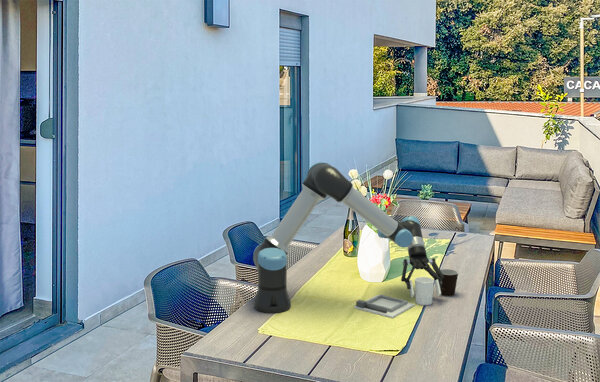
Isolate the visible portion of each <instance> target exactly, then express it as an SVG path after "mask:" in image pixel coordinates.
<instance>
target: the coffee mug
mask: <svg viewBox="0 0 600 382" xmlns="http://www.w3.org/2000/svg"><path fill="white" fill-rule="evenodd" d="M440 271H441V272H442V274H443V276H444V278H443V280H442V281H441V285H442V286H441V288H440V290H441V295H440V296H443V297H453V296H455V293H456V287H457V282H458V276H459V271H457V270H455V269H452V268H451V269H449V268H442V269H440Z"/></svg>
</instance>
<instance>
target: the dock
mask: <svg viewBox="0 0 600 382" xmlns="http://www.w3.org/2000/svg"><path fill="white" fill-rule="evenodd" d="M413 306H414V307H415V306H416V304H415V303H411V302H408V300H405V299H401V298H398V297H397V298H396V297H393V296H388V295H385V294H377V295H375V296H372V297H371V298H368V299H366V300H362V299H358V300H356V302H355V305H354V306H353V307H354V309H356V310H360V311H362V312H363V311H364V312H366V313H367V312H368V313H371V314H375V315H379V316H383V317H386V318H389V317H390V318H389V319H394V318H396V317H398V316H399V315H401V314H403V313H405V312H406V310H407V311H408V310H410V309H412V308H413ZM411 307H412V308H411ZM409 308H410V309H409ZM404 311H405V312H404ZM402 312H403V313H402ZM397 315H398V316H397Z"/></svg>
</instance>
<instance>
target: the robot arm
mask: <svg viewBox="0 0 600 382" xmlns="http://www.w3.org/2000/svg"><path fill="white" fill-rule="evenodd" d="M301 186H302V190H301V191H300V193H299V194H298V195H297V197H296V199H295V200H294V201H293V203H292V205H291V206H290V207H289V209H288V211H287V212H286V213H285V215H284V216H283V218H282V220H281V221H280V223H279V224H278V225H277V227H276V228H275V230H274V231H273V233H272V234H271V235H269V236H266V237H265V238H264V239H263V241H262V243H259V244H258V245H257V246H256V247H255V249H254V251H253V255H252V260H253V264H254V266H255V268H256V270H257V273H258V274H257V277H258V278H257V280H258V281H257V287H258V288H257V291H256V294H255V298H254V301H253V307H254V309H255V310H256V311H258V312H261V313H268V314H276V313H278V314H279V313H282V312H286V311H288V310H290V309H291V308H292V302H291V300H292V299H290V296H289V292H288V288H287V273H288V272H287V269H288V266H287V263H288V258H287V257H288V256H287V255H288V254H289V253H290V251H289V246H290V244H291V243H292V242H293V240H294V239H295V238H296V236H297V234H298V233H299V231H300V230H301V228H302V227H303V225H304V224H305V222H307V220H308V218H309V216H311V214H312V212H313V211H314V209H315V207H316V206H317V205H318V204H319V202H320V201H322V200H325V199H326V198H327V196H328V197H330V198H332V199H333V200H335V201H336V203H342V204H344V205H345V206H347V208H348V209H350V210H352V211H353V212H354V213H356V215H358V216H359V217H361V218H362V219H363V220H365V222H367V223H368V224H369V225H371V226H373V227H374V228H376V231H377V236H378V237H379V238H381V239H389V240H390V241H392V242H393V243H394V244H395V245H397V247H401V248H407V253H408V259H407V258H404V259H403V261H402V264H403V265H402V266H403V268H402V273H401V278H400V281H401V282H403V283H405V285H406V289H407V290H409V294H410V297H411V298H414V296H415V289H414V285H413V281H412V279H411V277H412V276H413V274H414V271H415V270H424V271H426V272H427V273H428V274H429V275H430V276H431V277H432V279H433V280H434V285H435V290H436V295H437V297H440V296H442V295H441V290H440V288H441V286H442V285H441V281H442V280H443V278H444V276H443V274H442V272H441V271H440V270H441V269H440V268H439V266H438V264H437V263H436V259H435V258H434V257H433V258H432V259H431V258H430V259H429V258H428V256H427V255H428V254H427V250H426V248H425V242H424V237H423V233H422V227H421V223H420V220H419V218H418V217H417V216H413V215H411V216H406V217H404V218H403V219H402V221H398V220H397V221H396V220H395V219H394V218H393V217H391V216H390V215H389V214H388V213H386V212H385V211H384V210H383V209H381V208H380V207H379V206H377V205H376V204H375V203H374V202H372V201H371V200H370V199H368V197H366V196H364V194H362V193H361V192H360V191H358V190H357V189H356V188H354V184H353V183H352V182H351V181H350V180H348V179H347V178H346V177H345V176H344V174H342V173H341V171H339V170H338V169H337V168H336V167H334V166H332V165H331V164H330V163H328V162H321V161H320V162H317V163H313V164H312V165H311V166H310V167H309V168H308V171H307V173H306V178H305V179H304V180H303V182H302V184H301ZM408 265H410V266H411V267H412V268H411V269H410V272H409V273H408V275H406V274H407V268H408ZM431 266H432V267H431ZM406 276H407V277H406ZM410 279H411V280H410Z"/></svg>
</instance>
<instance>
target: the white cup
mask: <svg viewBox="0 0 600 382" xmlns="http://www.w3.org/2000/svg"><path fill="white" fill-rule="evenodd" d="M434 285H435V279H434V278H433V277H432V278H431V277H429V276H428V277H427V276H426V277H425V276H419V277H415V279H414V296H415V303H416V304H417V305H419V306H430V305H432V304H433V297H434V288H435V287H434Z"/></svg>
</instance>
